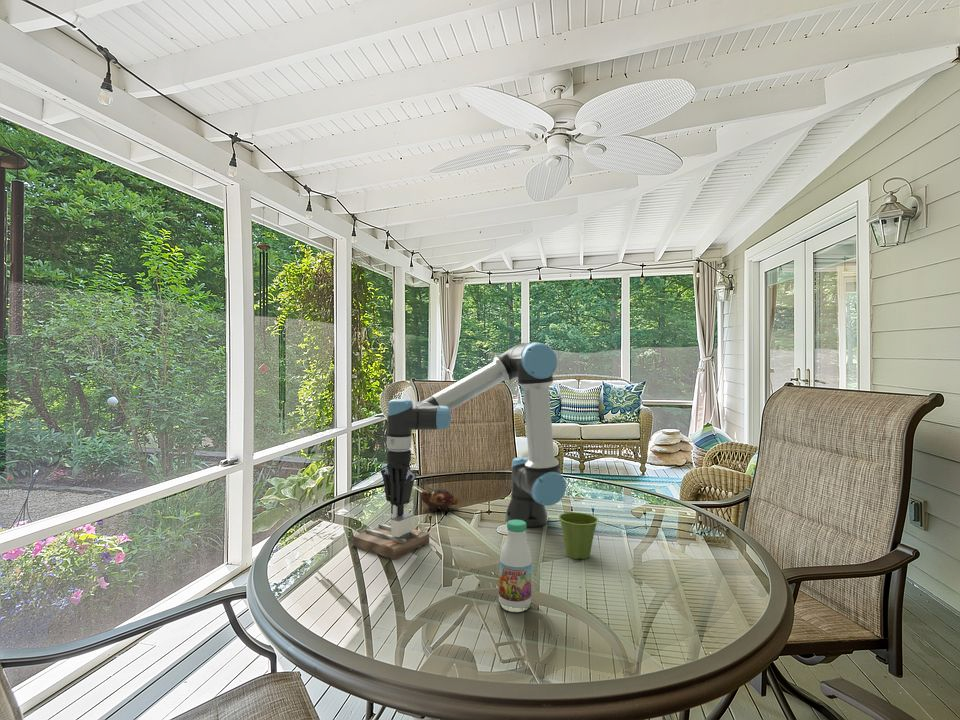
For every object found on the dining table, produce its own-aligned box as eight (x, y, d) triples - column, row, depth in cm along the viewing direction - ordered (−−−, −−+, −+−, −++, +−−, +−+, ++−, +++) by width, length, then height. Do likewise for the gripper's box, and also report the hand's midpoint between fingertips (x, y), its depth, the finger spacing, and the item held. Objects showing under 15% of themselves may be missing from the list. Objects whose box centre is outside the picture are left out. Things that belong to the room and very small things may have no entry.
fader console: (429, 542, 156) (429, 530, 155) (394, 559, 142) (394, 545, 142) (389, 531, 165) (389, 519, 165) (353, 546, 151) (353, 533, 151)
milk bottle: (496, 597, 121) (498, 516, 121) (527, 597, 122) (529, 516, 122) (500, 614, 113) (502, 527, 113) (533, 613, 114) (536, 527, 114)
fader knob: (413, 535, 153) (414, 514, 153) (398, 542, 147) (398, 520, 147) (406, 533, 155) (406, 512, 155) (390, 539, 149) (391, 518, 149)
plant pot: (599, 550, 153) (600, 514, 153) (595, 565, 141) (596, 526, 141) (561, 545, 157) (562, 509, 156) (554, 559, 145) (555, 521, 145)
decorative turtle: (415, 508, 190) (417, 487, 191) (452, 506, 197) (453, 486, 197) (424, 514, 182) (425, 492, 182) (461, 512, 188) (463, 491, 189)
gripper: (374, 448, 152) (373, 524, 153) (406, 453, 145) (404, 533, 146) (391, 445, 159) (389, 518, 159) (423, 450, 152) (421, 526, 152)
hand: (397, 525), depth 152 cm, fingers closed
